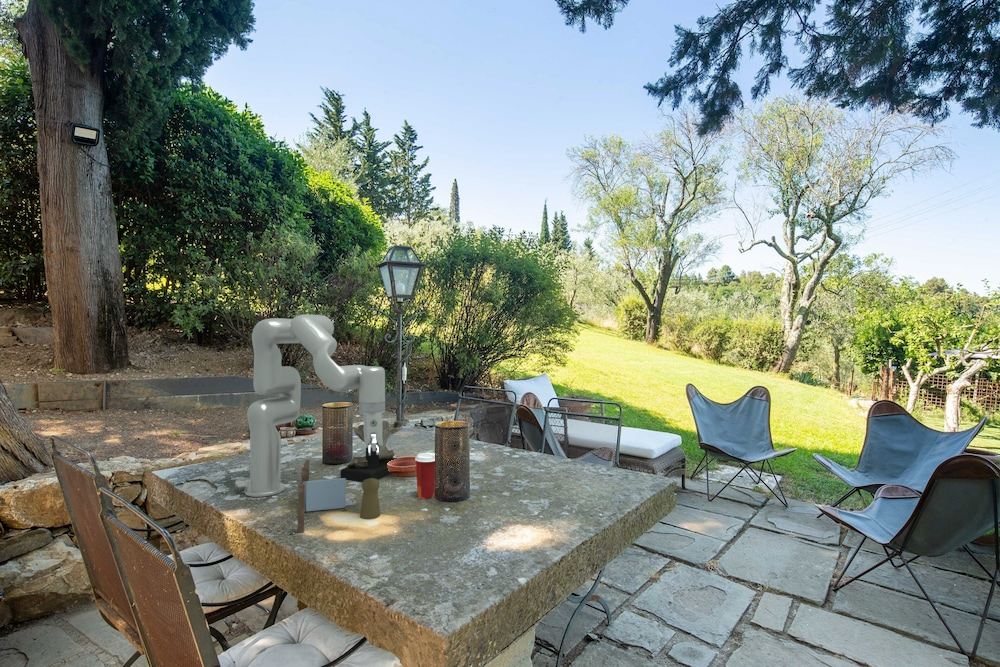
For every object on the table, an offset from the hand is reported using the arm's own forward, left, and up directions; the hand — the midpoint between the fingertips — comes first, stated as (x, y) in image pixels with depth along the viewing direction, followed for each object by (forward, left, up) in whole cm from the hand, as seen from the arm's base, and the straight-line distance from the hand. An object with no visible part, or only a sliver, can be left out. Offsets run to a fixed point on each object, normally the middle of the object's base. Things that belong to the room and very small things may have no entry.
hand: (372, 464), depth 144 cm
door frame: (-19, +7, -16) cm, 26 cm away
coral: (+7, +42, -16) cm, 46 cm away
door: (-14, +8, -15) cm, 22 cm away
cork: (0, 0, -16) cm, 16 cm away
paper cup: (+19, +12, -16) cm, 27 cm away
